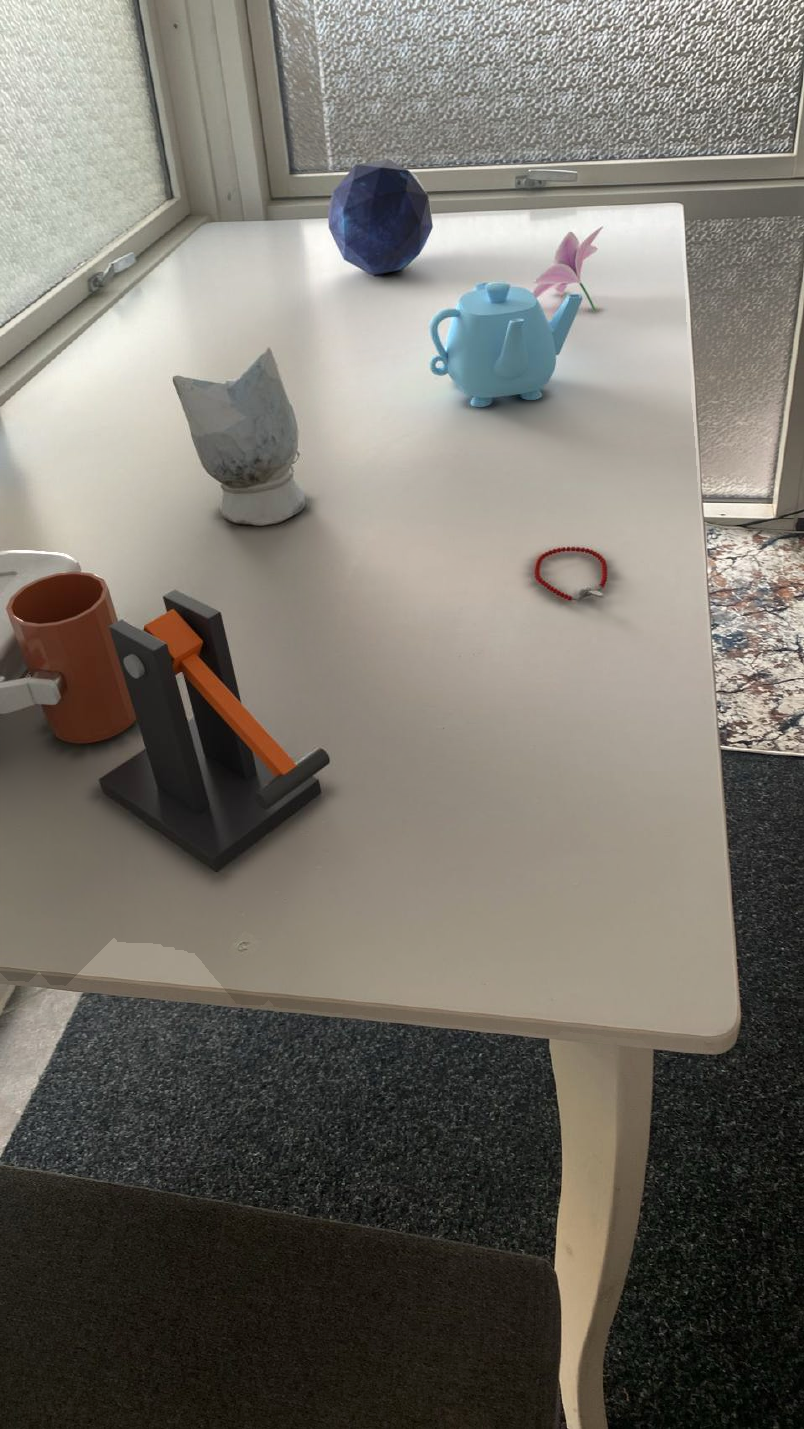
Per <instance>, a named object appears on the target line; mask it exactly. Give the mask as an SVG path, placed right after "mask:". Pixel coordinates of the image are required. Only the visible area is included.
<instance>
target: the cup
mask: <svg viewBox="0 0 804 1429" xmlns="http://www.w3.org/2000/svg"><path fill="white" fill-rule="evenodd" d="M6 611H7V613H8V616H9V619H10V622H11V625H12V627H13V630H14V633H15V635H16V638H17V641H18V644H19V646H20V649H21V652H22V654H23V657H24V660H25V662H26V665H27V668H28V671H29V673H28V674H29V677H32V676H33V675H34V674H35V673H36V672H37V670H45V671H48V672H51V671H57V672H59V673H61V674H62V676H63V678H64V684H66V686H67V690H66V692H65V693H64V694H63V696H62V697H61V699H60V700H59V702H58V703H57V704H56V705H46V704H40V706H41V709H42V711H43V714H44V716H45V719H46V722H47V725H48V727H49V730H50V731H51V733H52V734H53V736H55V737H56V738H58V740H61V741H64V742H67V743H71V744H72V743H73V744H91V743H97V742H101V741H105V740H107V739H110V738H113V737H115V736H117V735H119V734H121V733H123V732H124V731H125V730H127V729H128V728H129V727H130V726H132V725H133V724H134V723H135V722H136V721H137V718H136V715H135V712H134V708H133V705H132V702H131V699H130V695H129V692H128V689H127V685H126V682H125V679H124V675H123V672H122V669H121V666H120V662H119V659H118V656H117V652H116V649H115V646H114V642H113V639H112V636H111V632H110V629H109V626H111V625H112V624H114V623H116V622H118V621H119V619H118V616H117V612H116V609H115V605H114V602H113V599H112V596H111V593H110V589H109V586H108V584H107V582H106V580H105V579H104V578H102V577H100V576H98V575H96V574H95V573H92V572H86V571H82V572H78V571H74V572H64V573H56V574H53V575H49V576H46V577H43V578H39V579H37V580H35V581H33V582H31V583H29V584H27V585H25V586H24V587H22V588H21V589H20V590H18V591H17V592H16V593H15V594H14V595H13V596H12V597H11V598H10V600H9V602H8V605H7V607H6Z"/></svg>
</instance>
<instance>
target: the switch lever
mask: <svg viewBox="0 0 804 1429" xmlns="http://www.w3.org/2000/svg"><path fill="white" fill-rule="evenodd" d="M142 630H143V631H145V632H147V633H148V634H150V635H152V636H154V637H156V638H158V639H159V640H161V641H163V642H165V643H167V645H168V649H169V653H170V657H171V660H172V664H173V668H174V672H175V675H176V676H177V675H179V674H182V675H184V676H185V677H186V678H187V679H188V680H189V681H190V682H191V683H192V685H193V686H194V687H195V688H196V689H197V690H198V691H199V692H200V693H201V695H202V696H203V697H204V698H205V699H206V700H207V701H208V702H209V703H210V705H211V706H212V707H213V708H214V709H215V710H216V711H217V712H218V713H219V715H220V716H221V717H222V718H223V719H224V720H225V721H226V722H227V723H228V724H229V726H230V727H231V728H232V729H233V730H234V731H235V732H236V733H237V734H238V736H239V737H240V738H241V739H242V740H243V741H244V742H245V743H246V744H247V746H248V747H249V748H250V749H251V750H252V751H253V752H254V753H255V754H256V755H257V757H258V758H259V759H260V760H261V761H262V762H263V763H264V764H265V765H266V767H267V768H268V769H269V770H270V771H271V772H272V773H273V774H274V775H275V777H276V778H274V779H273V780H271V781H270V782H269V783H267V784H266V785H265V786H263V787H262V788H260V789H259V790H258V791H256V792H255V794H254V798H255V800H256V802H257V804H258V805H259V806H260V807H261V808H263V809H265V810H267V809H269V808H270V807H271V806H273V805H274V804H276V803H277V802H278V801H280V800H281V799H282V798H284V797H285V796H286V795H288V794H289V793H290V792H292V791H293V790H294V789H296V788H297V787H298V786H300V785H301V784H302V783H304V782H305V781H307V780H308V779H309V778H311V777H312V776H315V775H316V774H317V773H319V772H321V770H323V769H324V768H325V767H327V766H329V764H330V762H331V759H330V758H331V757H330V756H329V754H328V752H327V751H326V750H325V749H324V748H323V747H321V746H319V747H316V748H314V749H313V750H311V751H310V752H309V753H307V754H306V755H304V756H303V757H302V758H300V759H299V760H298V761H296V762H295V760H293V758H291V757H290V755H288V753H287V752H286V751H285V750H284V749H283V748H282V746H280V745H279V743H278V742H277V741H276V740H275V739H274V738H273V737H272V735H271V734H270V733H269V732H268V731H267V730H266V729H265V727H264V726H262V725H261V724H260V723H259V722H258V720H257V719H256V718H255V717H254V716H253V714H251V712H250V711H249V710H248V709H247V708H246V707H245V706H244V705H243V704H242V702H241V703H240V702H239V701H238V700H237V699H236V697H235V696H234V695H233V694H232V693H231V692H230V691H229V690H228V689H227V688H226V686H225V685H224V684H223V683H222V682H221V681H220V680H219V679H218V678H217V677H216V675H215V674H214V673H213V672H212V671H211V670H210V669H209V668H208V667H207V666H206V664H205V663H204V662H203V661H202V660H201V659H200V658H199V654H200V651H201V647H202V643H203V641H202V639H201V638H200V637H199V636H198V635H197V634H196V633H195V632H194V631H193V630H192V629H191V627H190V626H189V625H188V624H187V623H186V622H185V621H184V620H183V619H182V618H181V616H180V615H179V614H178V613H177V612H176V611H175V610H174V609H172V610H170V611H168V612H167V611H166V612H165V613H163V614H161V615H159V616H158V617H156V618H154V619H153V620H150V621H149V622H148V623H145V624H144V626H143V629H142ZM184 676H183V677H184Z"/></svg>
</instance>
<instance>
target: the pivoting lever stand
mask: <svg viewBox="0 0 804 1429" xmlns="http://www.w3.org/2000/svg"><path fill="white" fill-rule="evenodd" d="M162 600H163V603H164V607H165V611H166V613H167V612H168V611H170V610H172V609H174V610H175V611H176V612H177V613H178V614H179V615H180V616H181V618H182V619H183V620H184V621H185V622H186V623H187V624H188V625H189V626H190V627H191V629H192V630H193V631H194V632H195V633H196V634H197V635H198V636H199V637H200V638H201V639H202V641H203V643H202V647H201V651H200V654H199V658H200V659H201V660H202V661H203V662H204V663H205V664H206V666H207V667H208V668H209V669H210V670H211V671H212V672H213V673H214V674H215V675H216V677H217V678H218V679H219V680H220V681H221V682H222V683H223V684H224V685H225V686H226V688H227V689H228V690H229V691H230V692H231V693H232V694H233V695H234V696H235V697H236V699H237V700H238V701H239V702H240V703H241V704H242V699H241V694H240V690H239V687H238V683H237V678H236V672H235V669H234V664H233V659H232V654H231V651H230V646H229V643H228V638H227V633H226V629H225V628H226V627H225V624H224V620H223V615H222V611H220V610H219V609H216V608H214V607H212V606H210V605H209V604H206V603H205V602H202V601H200V600H198V599H196V598H194V597H192V596H190V595H188V594H186V593H184V592H182V591H180V590H178V589H176V588H175V589H172V590H170V591H169V592H167V593H166V594H163V595H162ZM109 629H110V632H111V636H112V639H113V642H114V646H115V649H116V652H117V656H118V659H119V662H120V666H121V669H122V672H123V675H124V679H125V682H126V685H127V689H128V692H129V695H130V699H131V702H132V705H133V708H134V712H135V715H136V718H137V719H136V722H137V725H138V729H139V733H140V734H141V738H142V743H143V744H144V749H143V750H141V751H139V752H138V753H136V754H135V755H134V756H132V757H129V759H127V760H126V761H124V762H123V763H121V764H119V765H118V766H117V767H115V768H113V769H112V770H111V771H108V772H107V773H106V774H104V775H103V776H101V777H100V778H98V782H99V785H100V788H101V791H102V793H103V794H105V795H106V796H108V797H109V798H111V799H112V800H113V801H115V802H116V803H117V804H119V805H121V806H122V807H123V808H125V809H126V810H127V811H129V812H130V813H132V814H133V815H134V816H136V817H138V818H139V819H140V820H142V821H143V822H145V823H146V824H148V825H149V826H150V827H151V828H153V829H154V830H156V831H157V832H159V833H161V835H162V836H164V837H166V838H167V839H169V840H170V841H171V842H173V843H174V844H176V845H177V846H179V847H180V848H181V849H183V850H184V851H186V852H187V853H189V854H190V855H191V856H193V857H194V858H196V859H197V860H198V861H200V862H201V863H203V864H204V865H206V866H207V867H208V868H209V869H211V870H213V871H214V872H216V873H217V872H218V871H220V870H221V869H223V868H224V867H225V866H226V865H228V864H229V863H231V862H232V861H233V860H235V859H236V858H237V857H238V856H240V855H241V854H242V853H244V852H245V851H247V849H249V848H250V847H251V846H253V845H254V844H255V843H257V842H258V841H260V840H261V839H262V838H263V837H265V836H266V835H267V834H268V833H270V832H272V831H273V830H274V829H276V827H278V826H279V825H281V824H282V823H283V822H285V821H286V820H288V819H289V818H290V817H291V816H292V815H294V814H295V813H296V812H298V811H299V810H300V809H302V808H303V807H305V806H306V805H307V804H308V803H309V802H311V801H312V800H314V799H315V798H316V797H318V796H319V795H321V793H322V790H321V785H320V779H319V778H318V777H316V776H315V775H313V776H312V777H311V778H309V779H308V780H307V781H305V782H304V783H302V784H301V785H300V786H298V787H297V788H296V789H294V790H293V791H292V792H290V793H289V794H288V795H286V796H285V797H284V798H282V799H281V800H280V801H278V802H277V803H276V804H274V805H273V806H271V807H270V808H269V809H267V810H265V809H263V808H261V807H260V806H259V805H258V804H257V802H256V800H255V798H254V794H255V792H256V791H258V790H259V789H260V788H262V787H263V786H265V785H266V784H267V783H269V782H270V781H271V780H273V779H274V778H276V777H275V775H274V774H273V773H272V772H271V771H270V770H269V769H268V768H267V767H266V765H265V764H264V763H263V762H262V761H261V760H260V759H259V758H258V757H257V755H256V754H255V753H254V752H253V751H252V750H251V749H250V748H249V747H248V746H247V744H246V743H245V742H244V741H243V740H242V739H241V738H240V737H239V736H238V734H237V733H236V732H235V731H234V730H233V729H232V728H231V727H230V726H229V724H228V723H227V722H226V721H225V720H224V719H223V718H222V717H221V716H220V715H219V713H218V712H217V711H216V710H215V709H214V708H213V707H212V706H211V705H210V703H209V702H208V701H207V700H206V699H205V698H204V697H203V696H202V695H201V693H200V692H199V691H198V690H197V689H196V688H195V687H194V686H193V685H192V683H191V682H190V681H189V680H188V679H187V678H186V677H185V676H184V675H183V674H182V675H183V679H184V683H185V687H186V688H185V689H186V691H187V695H188V699H189V703H190V706H191V710H192V714H193V717H192V718H190V719H189V720H188V717H187V713H186V710H185V706H184V702H183V698H182V694H181V690H180V687H179V683H178V680H177V675H175V672H174V668H173V664H172V660H171V657H170V653H169V649H168V645H167V643H165V642H163V641H161V640H159V639H158V638H156V637H154V636H152V635H150V634H148V633H147V632H145V631H143V630H144V629H141V628H140V627H137V626H136V625H134V624H132V623H130V622H128V621H126V620H124V619H119V620H118V622H116V623H114V624H112V625H111V626H109Z"/></svg>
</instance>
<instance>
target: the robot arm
mask: <svg viewBox="0 0 804 1429" xmlns="http://www.w3.org/2000/svg"><path fill="white" fill-rule="evenodd" d="M74 571H78V572H83V570H82V567H81V565H80V563H79V562H78V561H77V560H76V559H75V558H73V557H72V556H71V555H69V554H65V553H62V552H61V553H60V552H50V551H38V550H36V551H35V550H0V715H1V714H2V715H7V714H10V713H13V712H17V711H19V710H23V709H27V708H30V707H32V706H35V705H41V704H46V705H56V704H57V703H58V702H59V700H60V699H61V697H62V696H63V694H64V693H65V692H66V690H67V686H66V684H64V678H63V676H62V674H61V673H59V672H57V671H51V672H48V671H45V670H37V672H36V673H35V674H34V675H33V676H32V677H31V676H27V675H28V674H30V673H29V671H28V668H27V665H26V662H25V660H24V657H23V654H22V652H21V649H20V646H19V644H18V641H17V638H16V635H15V633H14V630H13V627H12V625H11V622H10V619H9V616H8V613H7V611H6V607H7V605H8V602H9V600H10V598H11V597H12V596H13V595H14V594H15V593H16V592H17V591H18V590H20V589H21V588H22V587H24V586H25V585H27V584H29V583H31V582H33V581H35V580H37V579H39V578H43V577H46V576H49V575H53V574H56V573H64V572H74ZM26 676H27V677H26Z"/></svg>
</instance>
